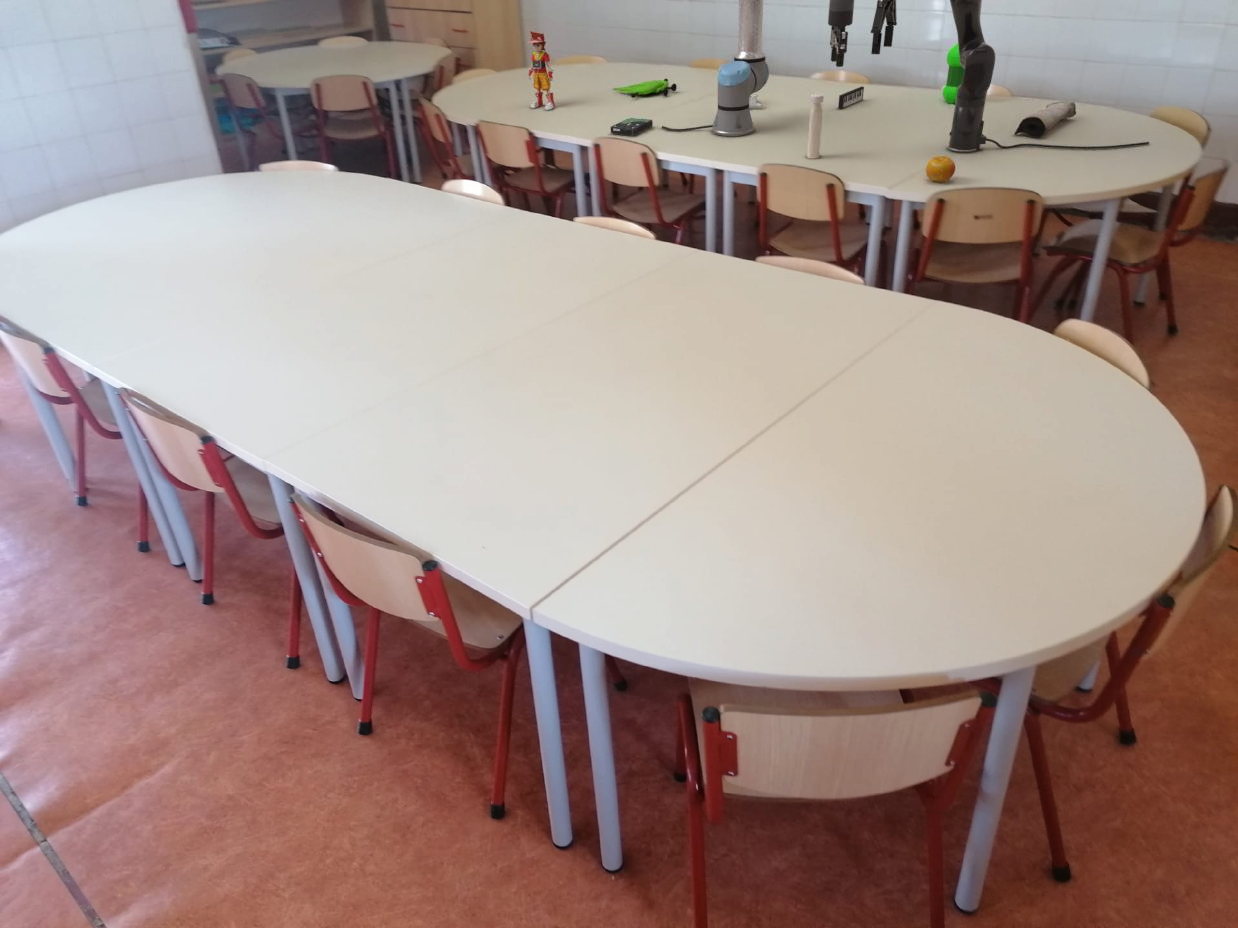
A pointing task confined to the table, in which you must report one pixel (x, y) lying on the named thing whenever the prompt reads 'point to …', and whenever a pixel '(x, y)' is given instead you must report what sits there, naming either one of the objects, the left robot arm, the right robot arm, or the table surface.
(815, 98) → the cap
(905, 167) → the table surface
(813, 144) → the bottle
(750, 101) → the anatomical model
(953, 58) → the plastic bottle
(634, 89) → the toy
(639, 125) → the disk drive
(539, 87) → the toy
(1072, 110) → the rolled mat
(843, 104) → the midi keyboard
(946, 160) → the fruit
